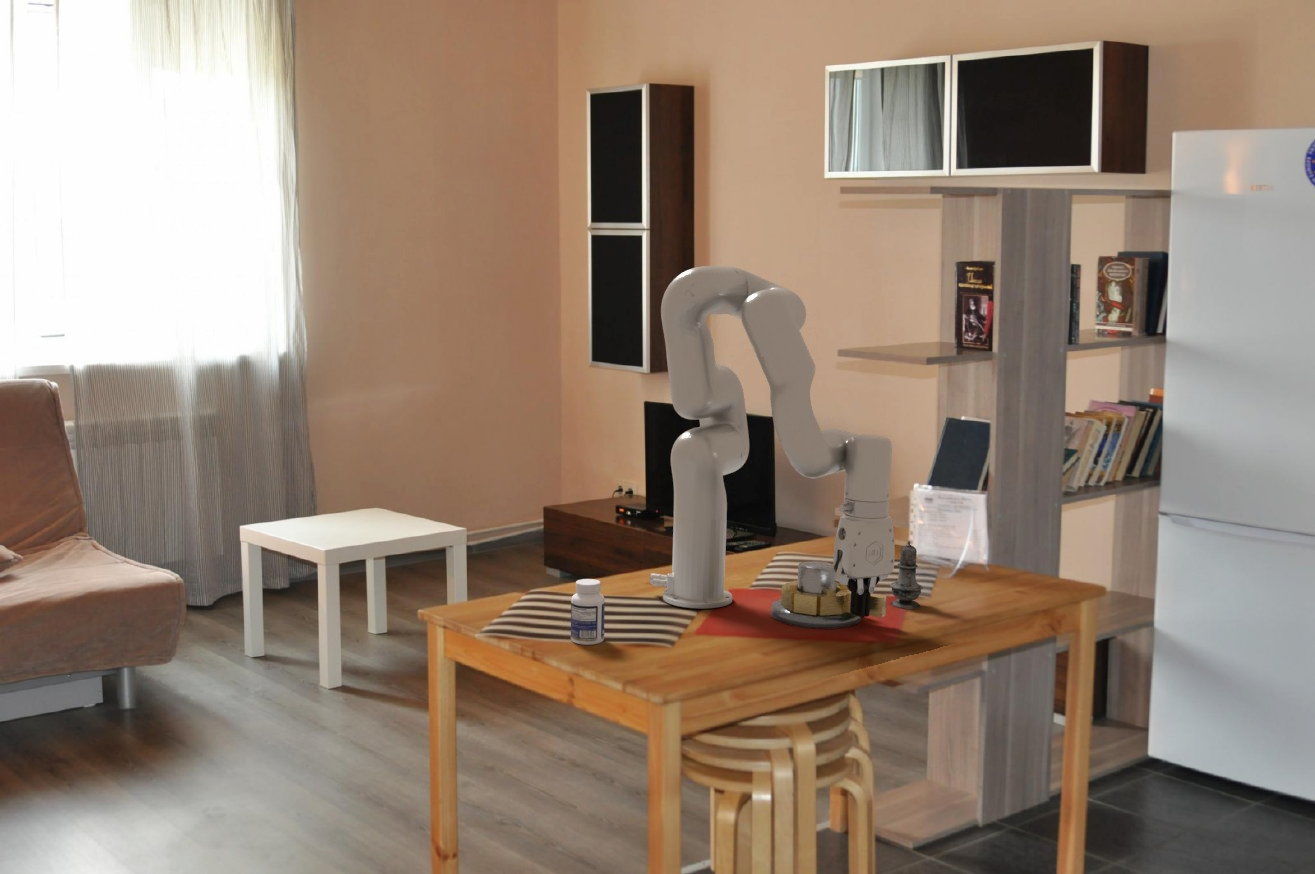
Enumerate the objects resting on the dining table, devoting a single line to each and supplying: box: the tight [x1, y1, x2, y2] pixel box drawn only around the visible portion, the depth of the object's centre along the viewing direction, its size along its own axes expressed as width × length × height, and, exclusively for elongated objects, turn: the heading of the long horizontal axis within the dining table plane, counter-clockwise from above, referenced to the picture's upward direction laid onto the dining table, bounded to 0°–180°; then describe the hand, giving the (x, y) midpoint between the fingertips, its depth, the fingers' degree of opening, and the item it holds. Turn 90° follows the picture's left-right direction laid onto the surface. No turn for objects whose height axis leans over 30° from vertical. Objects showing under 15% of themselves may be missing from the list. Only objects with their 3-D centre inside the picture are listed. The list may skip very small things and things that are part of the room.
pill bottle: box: [570, 578, 606, 646], centre depth 213 cm, size 5×5×10 cm
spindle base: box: [770, 560, 862, 630], centre depth 232 cm, size 16×16×9 cm
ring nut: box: [780, 580, 888, 618], centre depth 230 cm, size 18×12×4 cm, turn 64°
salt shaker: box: [889, 540, 924, 610], centre depth 241 cm, size 6×6×12 cm
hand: (859, 614), depth 225 cm, fingers closed
